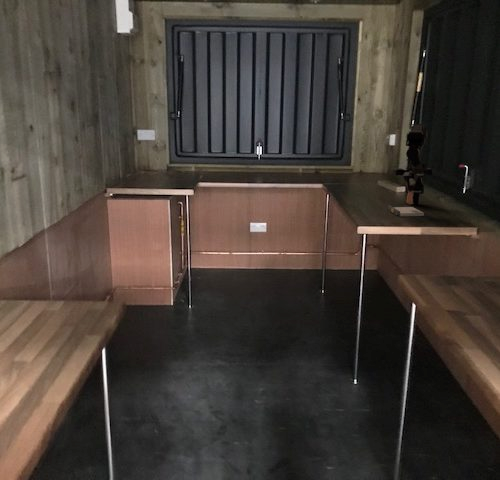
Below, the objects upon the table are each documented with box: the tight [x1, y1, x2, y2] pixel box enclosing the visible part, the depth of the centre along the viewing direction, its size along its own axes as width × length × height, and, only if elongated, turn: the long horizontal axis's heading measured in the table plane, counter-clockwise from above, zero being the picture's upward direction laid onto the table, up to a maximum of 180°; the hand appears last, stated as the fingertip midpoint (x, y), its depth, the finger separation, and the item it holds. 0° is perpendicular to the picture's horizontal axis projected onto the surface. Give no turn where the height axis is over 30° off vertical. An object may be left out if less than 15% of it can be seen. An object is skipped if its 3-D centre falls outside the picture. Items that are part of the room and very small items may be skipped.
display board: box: [387, 205, 425, 217], centre depth 256 cm, size 15×13×2 cm
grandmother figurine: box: [406, 179, 415, 205], centre depth 253 cm, size 8×4×13 cm, turn 2°
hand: (411, 188), depth 253 cm, fingers closed on grandmother figurine, 3 cm apart
